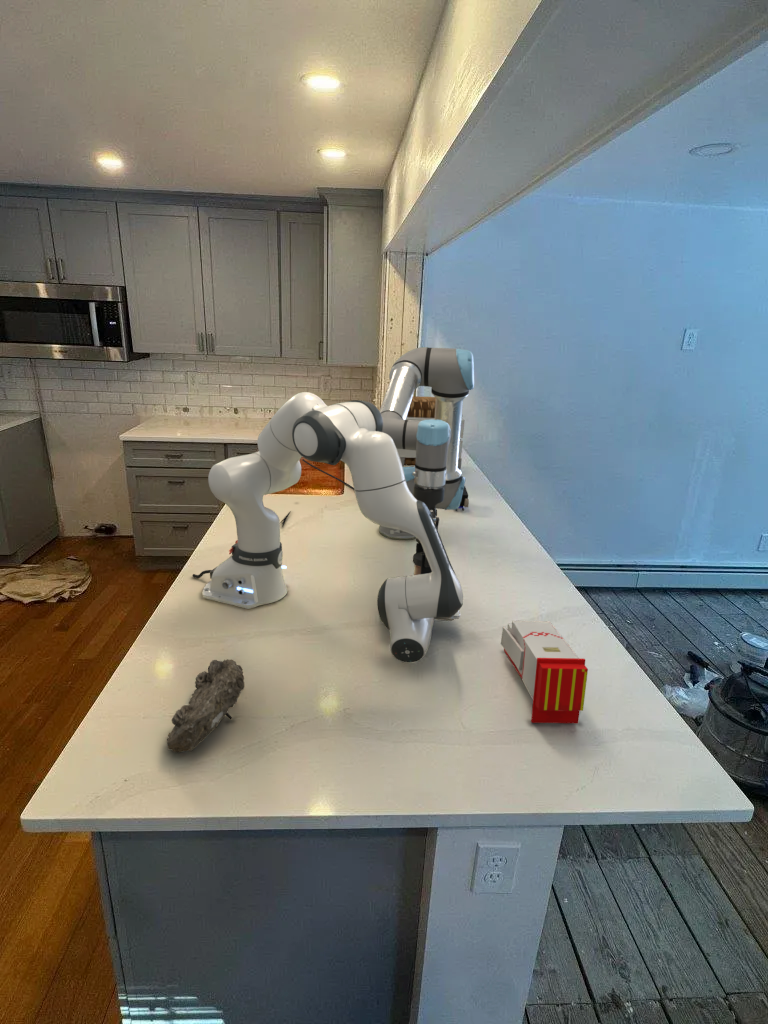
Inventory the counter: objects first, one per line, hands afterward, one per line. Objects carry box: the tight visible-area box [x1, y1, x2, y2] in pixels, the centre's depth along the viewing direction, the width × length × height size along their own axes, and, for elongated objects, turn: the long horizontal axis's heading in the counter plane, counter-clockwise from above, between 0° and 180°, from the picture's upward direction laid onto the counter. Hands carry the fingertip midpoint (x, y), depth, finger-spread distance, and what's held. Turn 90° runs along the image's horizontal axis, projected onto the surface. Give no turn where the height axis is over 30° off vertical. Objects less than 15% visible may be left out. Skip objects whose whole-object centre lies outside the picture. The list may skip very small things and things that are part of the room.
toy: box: [500, 620, 589, 724], centre depth 121 cm, size 12×13×30 cm
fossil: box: [166, 658, 245, 754], centre depth 106 cm, size 22×10×15 cm
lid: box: [412, 552, 422, 566], centre depth 144 cm, size 6×6×2 cm
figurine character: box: [455, 485, 470, 512], centre depth 229 cm, size 7×8×15 cm
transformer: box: [397, 395, 465, 471], centre depth 268 cm, size 34×33×41 cm
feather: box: [280, 510, 292, 528], centre depth 213 cm, size 2×28×2 cm
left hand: (421, 588), depth 148 cm, fingers closed on jar, 4 cm apart
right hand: (422, 571), depth 145 cm, fingers closed on lid, 5 cm apart
